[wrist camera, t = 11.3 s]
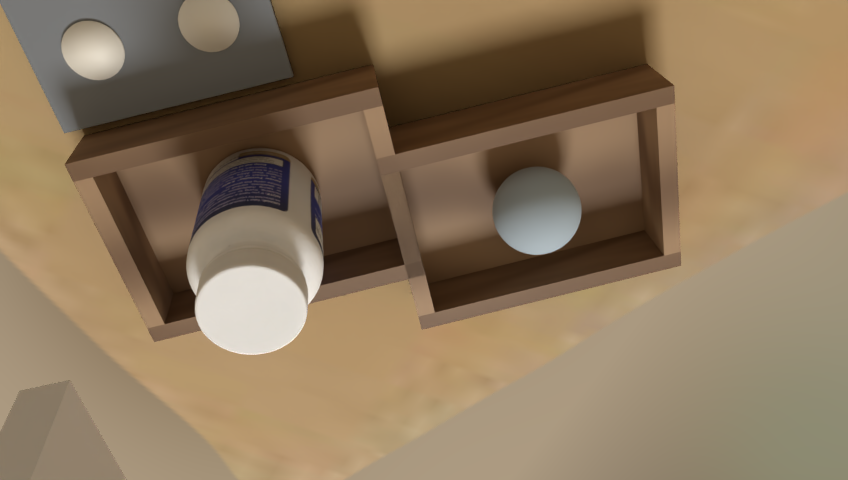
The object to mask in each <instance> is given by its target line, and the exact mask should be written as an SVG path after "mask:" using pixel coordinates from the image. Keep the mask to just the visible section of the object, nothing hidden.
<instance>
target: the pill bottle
mask: <svg viewBox="0 0 848 480" xmlns="http://www.w3.org/2000/svg"><path fill="white" fill-rule="evenodd" d="M323 268H324V258H323V233H322V205H321V195H320V190H319V187H318V184H317V182H316V180H315V178H314V177H313V175H312V174H311V172H310V171H309V170H308V169H307V167H306V166H305V165H304V164H303V163H301V162H300V161H299V160H298V159H296V158H294V157H293V156H291V155H289V154H287V153H284V152H282V151H278V150H274V149H269V148H252V149H246V150H242V151H239V152H236V153H234V154H232V155H230V156H228V157H227V158H225V159H224V160H222V161H221V162H220V163H219V164H218V165H217V166H216V167H215V168H214V169H213V170H212V172H211V173H210V175H209V177H208V179H207V181H206V184H205V187H204V190H203V193H202V197H201V201H200V205H199V209H198V213H197V217H196V221H195V225H194V229H193V232H192V236H191V240H190V244H189V248H188V253H187V260H186V271H187V277H188V280H189V283H190V286H191V288H192V290H193V292H194V293H195V295H196V299H195V316H196V320H197V322H198V325H199V327H200V329H201V330H202V332H203V333H204V334H205V335H206V336H207V337H208V338H209V339H210V340H211V341H212V342H213V343H215V344H216V345H218V346H220V347H221V348H224V349H226V350H229V351H232V352H235V353H239V354H248V355H251V354H254V355H255V354H264V353H269V352H272V351H275V350H278V349H280V348H282V347H284V346H285V345H287V344H288V343H290V342H291V341H292V340H293V339H294V338H295V337H296V336H297V335H298V334H299V333H300V331H301V330H302V328H303V326H304V323H305V321H306V318H307V310H308V304H309V303H310V302H311V301H312V299H313V298H314V297H315V295H316V293H317V291H318V290H319V287H320V284H321V281H322V277H323Z"/></svg>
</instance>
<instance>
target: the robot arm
mask: <svg viewBox="0 0 848 480" xmlns="http://www.w3.org/2000/svg"><path fill="white" fill-rule="evenodd" d="M0 480H127V479H126V477H125V476H124V474H123V472H122V470H121V469H120V467H119V465H118V463H117V462H116V460H115V458H114V456H113V455H112V453H111V451H110V449H109V448H108V446H107V444H106V442H105V441H104V439H103V437H102V435H101V434H100V432H99V430H98V428H97V427H96V425H95V423H94V421H93V420H92V418H91V416H90V415H89V413H88V411H87V409H86V407H85V406H84V404H83V402H82V401H81V399H80V397H79V395H78V393H77V392H76V390H75V388H74V387H73V385H72V383H71V381H70V380H68V381H63V382H58V383H54V384H49V385H45V386H40V387H35V388H30V389H26V390H21V391H19V393H18V396H17V398H16V400H15V402H14V404H13V406H12V408H11V410H10V413H9V415H8V417H7V419H6V421H5V423H4V425H3V428H2V430H1V432H0Z"/></svg>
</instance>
